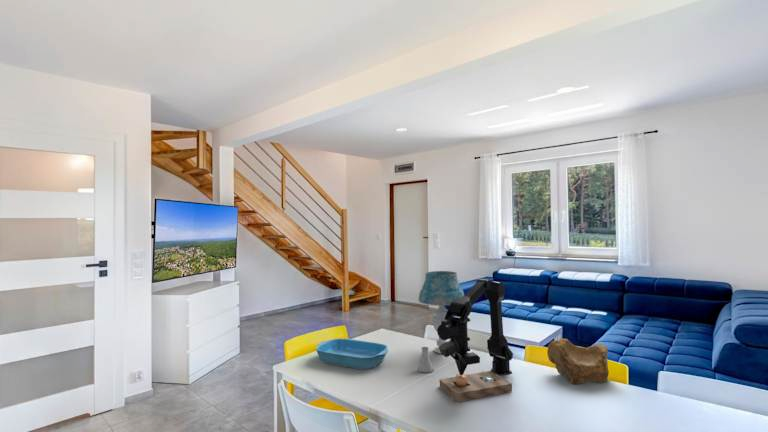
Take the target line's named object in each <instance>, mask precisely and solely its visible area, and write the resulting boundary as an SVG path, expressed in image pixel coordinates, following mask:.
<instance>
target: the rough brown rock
mask: <svg viewBox="0 0 768 432" xmlns="http://www.w3.org/2000/svg"><path fill="white" fill-rule="evenodd" d="M547 357H548V360H549V362H551V363H552V364H554V366H555V369H556V371H557V373H558V374H559V375H561V376H564V377H565V378H566V379H567V381H568V382H569V384H571V385H581V384H583V383H584V384H585V383H587V382H588V383H589V382H593V383H594V382H595V383H599V384H600V383H605V381H606V380H607V379H608V377H609V372H610V371H609V366H608V364H609V363H608V362H609V361H608V348H607V346H606V345H604V344H602V343H601V344H599V343H595V344H594V345H591V346H587V347H585V346H579V345H575V344H573V343H572V342H571V341H570V340H569V339H568V338H560V339H557V340H552V341H550V342H549V344H548V345H547Z"/></svg>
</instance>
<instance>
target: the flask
mask: <svg viewBox="0 0 768 432" xmlns="http://www.w3.org/2000/svg"><path fill="white" fill-rule="evenodd" d="M417 371H418V372H419V373H423V374H424V373H425V374H426V373H432V372H433V371H434V367H433V364H432V362H431V359H430V356H429V347H428V346H421V358H420V360H419V364H418V366H417Z"/></svg>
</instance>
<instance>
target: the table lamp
mask: <svg viewBox="0 0 768 432" xmlns="http://www.w3.org/2000/svg"><path fill="white" fill-rule="evenodd" d="M457 275H458V274H457V272H455V271H450V270H449V271H448V270H439V271H438V270H434V271H427V272H425V279H424V283H423V285H422V288H421V289H420V291H419V294H418V301H419V302H420V303H421V304H423V305H430V306H438V308H437V309H434V313H435V314H433V315H432V316H431V321H432V325H433V328H434V330H435V331H436V332H437V329H438V327H439V325H441V321H446V320H445V316H446V313H447V311H448V309H447V308H446V307H445V306H450V304H451V302H453V301H454V300H456V299H458V298H461V297H463V296H464V295H465V292H464V291H463V289H462V287H461V284H460V283H459V281H458V276H457ZM448 341H450V339H447V340H442V339H441V338H440V337H439V336H438V338H437V339H436V345H437V346H435V347H434V348H433V351H434V352H435V353H436V354H440V355H442V354H441V352H440V349H439V346H440V345H442V344H444V343H446V342H448Z"/></svg>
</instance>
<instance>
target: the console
mask: <svg viewBox="0 0 768 432" xmlns="http://www.w3.org/2000/svg"><path fill="white" fill-rule="evenodd" d="M466 375H467V386H464V387H460V386H457V385H456V376H450V377H445V378H440V379H439V382H438V383H439V388H440V389H442V390H443V391H444V392H445V393H446V394H447V395H449V397H451V398H452V400H454V401H455V402H463V401H469V400H474V399H480V398H484V397H490V396H495V395H500V394H505V393H506V394H507V393H511V392H513V383H511V382H510V381H508V380H507V379H505V378H504V377H502V376H501V375H499V374H497V373H495V372H494V371H492V370H487V371H482V372H481V371H480V372H475V373H470V374H469V373H468V374H466ZM483 376H492V377H493V378H494V381H492V382H487V383H486V382H485V381H483V380H482V377H483Z"/></svg>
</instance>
